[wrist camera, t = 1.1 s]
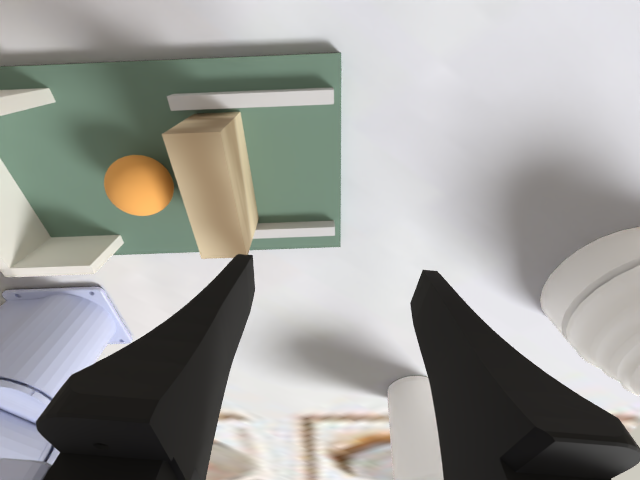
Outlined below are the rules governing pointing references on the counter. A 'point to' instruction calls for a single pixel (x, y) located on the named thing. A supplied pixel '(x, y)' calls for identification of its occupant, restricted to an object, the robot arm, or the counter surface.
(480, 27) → the counter surface
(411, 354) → the counter surface
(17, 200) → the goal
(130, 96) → the pitch mat
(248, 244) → the block
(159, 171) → the ball
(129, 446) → the robot arm
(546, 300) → the honey pot
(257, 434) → the counter surface
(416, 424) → the foam cup
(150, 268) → the counter surface
